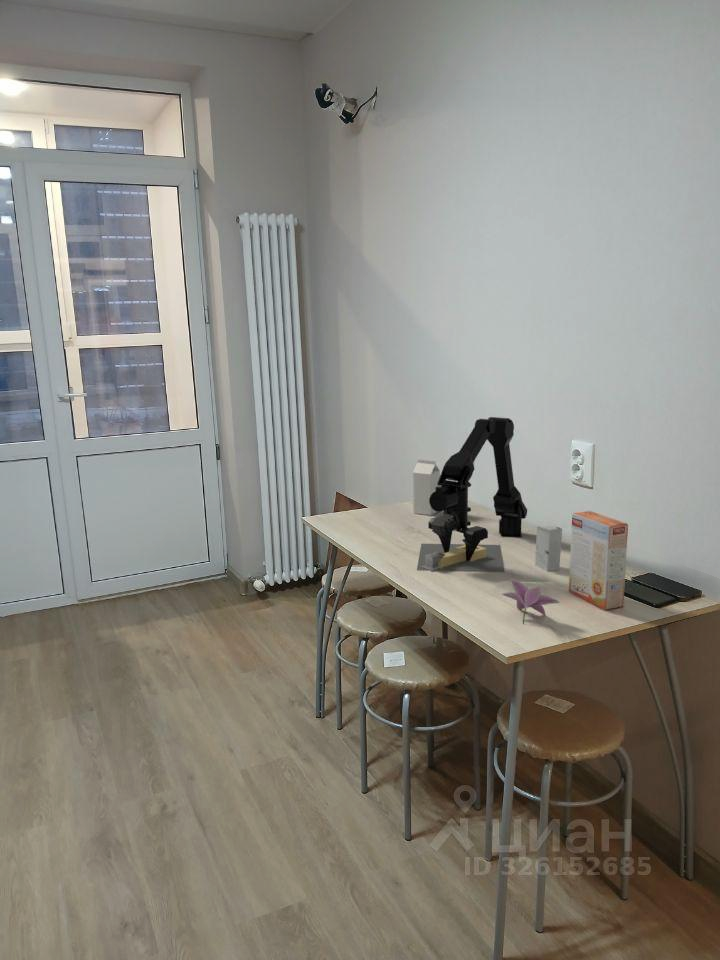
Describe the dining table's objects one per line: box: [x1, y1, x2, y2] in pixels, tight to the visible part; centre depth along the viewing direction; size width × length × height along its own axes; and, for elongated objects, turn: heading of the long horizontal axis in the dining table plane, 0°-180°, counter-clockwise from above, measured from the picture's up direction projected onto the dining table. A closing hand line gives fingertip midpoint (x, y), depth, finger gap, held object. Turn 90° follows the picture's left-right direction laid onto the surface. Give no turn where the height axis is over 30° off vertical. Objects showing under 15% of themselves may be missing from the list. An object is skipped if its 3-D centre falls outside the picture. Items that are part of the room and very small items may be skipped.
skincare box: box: [534, 522, 563, 572], centre depth 207 cm, size 6×4×12 cm
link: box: [438, 545, 486, 568], centre depth 215 cm, size 16×6×3 cm, turn 127°
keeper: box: [421, 552, 445, 572], centre depth 210 cm, size 6×4×4 cm
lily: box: [502, 578, 560, 625], centre depth 174 cm, size 12×12×10 cm
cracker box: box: [568, 510, 629, 611], centre depth 183 cm, size 14×6×21 cm, turn 21°
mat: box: [416, 543, 505, 573], centre depth 219 cm, size 24×25×1 cm
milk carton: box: [412, 459, 441, 516], centre depth 268 cm, size 7×7×19 cm
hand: (457, 557), depth 215 cm, fingers open, 8 cm apart
